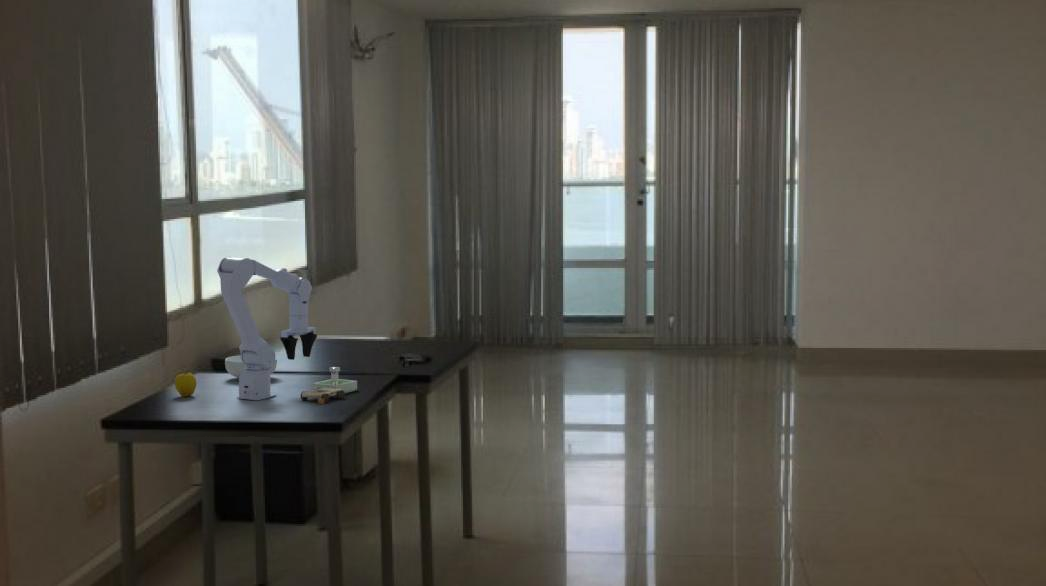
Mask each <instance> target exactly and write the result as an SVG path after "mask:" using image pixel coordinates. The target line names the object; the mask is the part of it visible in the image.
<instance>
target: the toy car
mask: <svg viewBox="0 0 1046 586" xmlns="http://www.w3.org/2000/svg"><path fill="white" fill-rule="evenodd" d="M345 394H346V393H344V391H343V389H334V388H317V389H316V390H313V389H312V390H308V391H302V392H301V393H300V399H301V400H302V401H307V400H308V399H309V398H312V399H317V404H319V405H322V404H325V403H327V404H328V402H329V400H330V397H334V396H336V397H337V399H342V400H343V399H344V397H345Z"/></svg>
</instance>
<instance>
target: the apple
mask: <svg viewBox="0 0 1046 586" xmlns="http://www.w3.org/2000/svg"><path fill="white" fill-rule="evenodd" d="M196 387H197V379H196V377H195V375H194V373H191V372H189V370H187V371H186V372H184V373H180V374H178V375H176V376H175V379H174V388H175V389H176V391H177V392H178V393H179V395H180V396H181V397H183V398H187V397H190V396H193V395H194V393H195V391H196Z"/></svg>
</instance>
